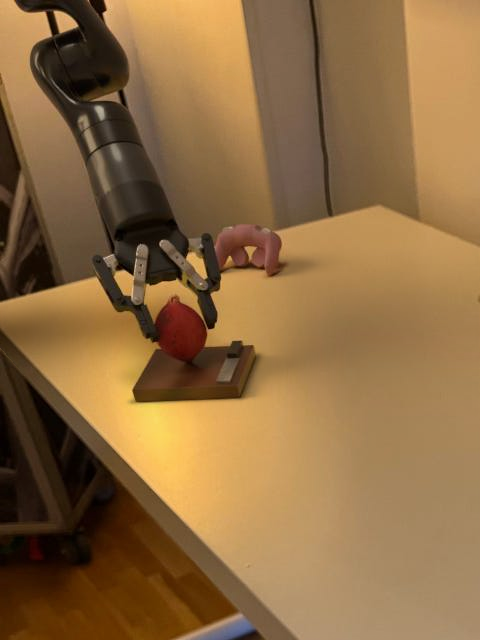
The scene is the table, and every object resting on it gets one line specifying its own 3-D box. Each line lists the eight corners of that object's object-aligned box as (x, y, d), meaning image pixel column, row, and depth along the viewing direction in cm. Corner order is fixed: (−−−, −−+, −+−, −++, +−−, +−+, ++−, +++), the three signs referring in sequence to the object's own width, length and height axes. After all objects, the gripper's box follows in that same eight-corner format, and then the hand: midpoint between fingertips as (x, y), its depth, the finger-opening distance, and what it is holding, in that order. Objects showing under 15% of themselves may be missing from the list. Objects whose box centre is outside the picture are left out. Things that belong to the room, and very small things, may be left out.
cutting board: (135, 402, 112) (129, 382, 110) (158, 360, 120) (153, 341, 119) (239, 397, 112) (235, 378, 110) (255, 356, 120) (252, 337, 119)
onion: (184, 377, 113) (167, 309, 108) (152, 365, 116) (134, 298, 110) (223, 359, 116) (208, 292, 111) (191, 348, 119) (175, 282, 114)
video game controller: (284, 278, 144) (286, 227, 142) (271, 274, 140) (272, 222, 138) (223, 275, 146) (223, 224, 144) (208, 271, 142) (208, 219, 140)
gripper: (64, 190, 106) (119, 333, 106) (193, 166, 111) (247, 303, 111) (70, 227, 113) (122, 361, 113) (191, 204, 118) (242, 332, 118)
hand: (183, 332), depth 112 cm, fingers open, 6 cm apart
